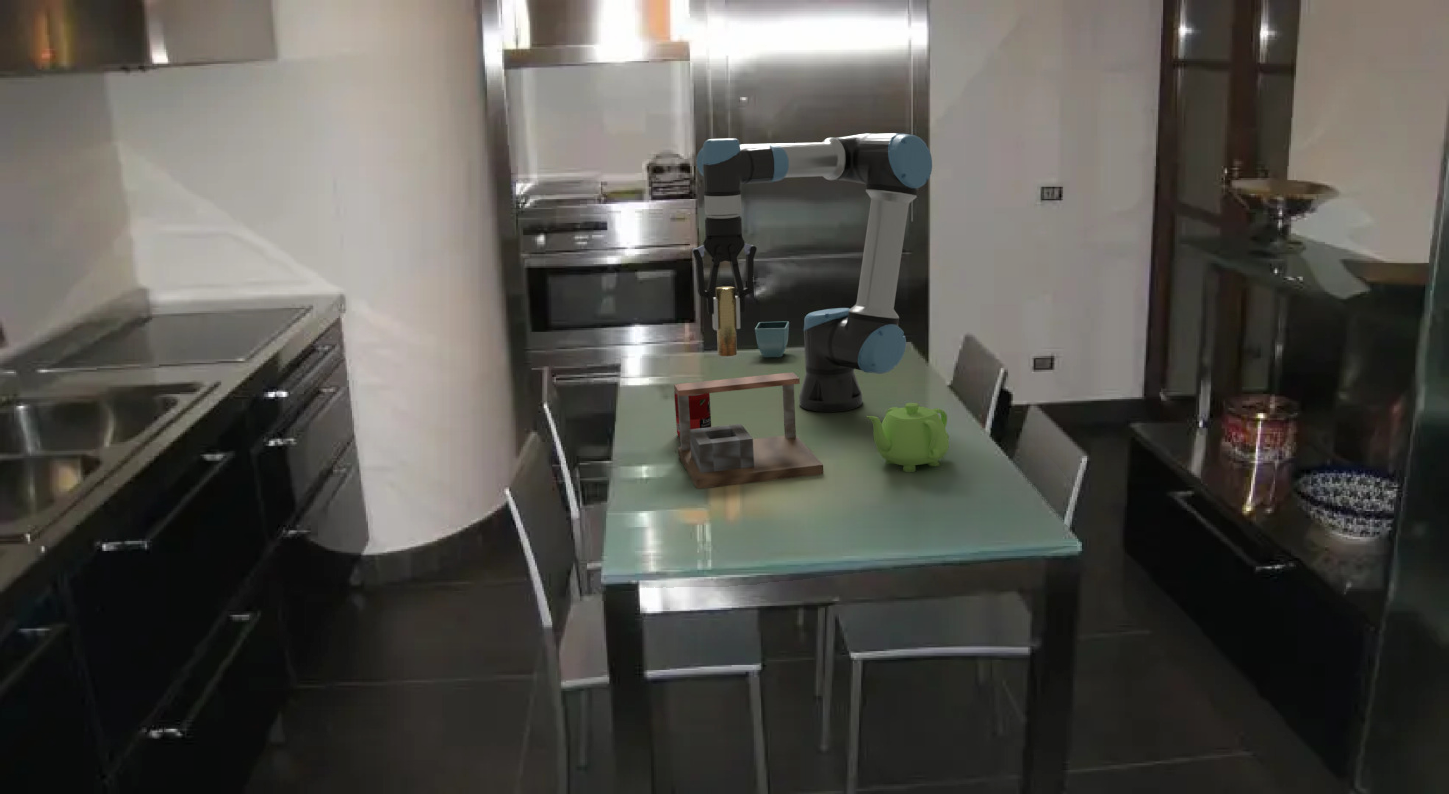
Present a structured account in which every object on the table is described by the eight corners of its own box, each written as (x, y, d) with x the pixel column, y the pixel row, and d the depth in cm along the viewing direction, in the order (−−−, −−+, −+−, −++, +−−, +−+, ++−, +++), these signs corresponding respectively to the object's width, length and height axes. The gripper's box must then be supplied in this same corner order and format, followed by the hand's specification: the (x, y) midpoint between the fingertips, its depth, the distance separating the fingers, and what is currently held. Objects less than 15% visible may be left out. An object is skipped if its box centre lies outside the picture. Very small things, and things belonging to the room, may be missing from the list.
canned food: (708, 440, 275) (705, 393, 272) (673, 440, 276) (670, 392, 274) (715, 430, 282) (712, 383, 279) (681, 429, 284) (678, 383, 281)
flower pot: (755, 359, 346) (754, 328, 343) (760, 352, 354) (758, 321, 352) (786, 359, 344) (785, 328, 342) (790, 351, 352) (789, 321, 350)
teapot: (936, 480, 242) (936, 419, 239) (866, 474, 248) (865, 413, 244) (955, 455, 256) (955, 396, 253) (889, 449, 262) (888, 392, 258)
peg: (734, 351, 261) (733, 286, 257) (738, 355, 257) (736, 289, 253) (716, 352, 260) (714, 287, 257) (719, 356, 256) (717, 290, 253)
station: (795, 442, 270) (792, 372, 265) (823, 474, 249) (821, 397, 245) (678, 456, 265) (674, 384, 261) (697, 488, 244) (692, 411, 240)
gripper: (760, 212, 256) (762, 322, 262) (679, 215, 253) (683, 327, 259) (767, 215, 249) (770, 329, 255) (684, 219, 246) (688, 334, 252)
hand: (726, 328), depth 257 cm, fingers closed on peg, 4 cm apart
